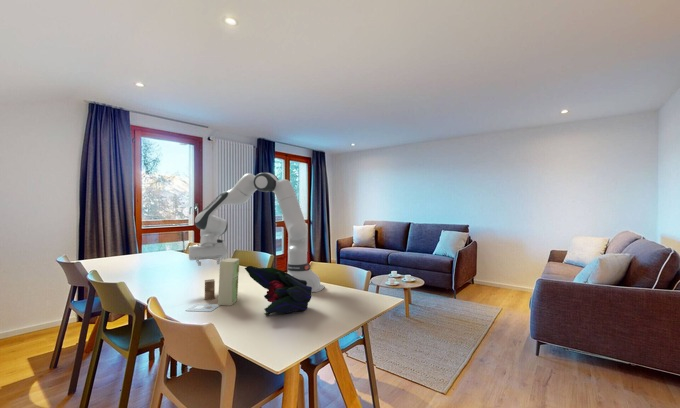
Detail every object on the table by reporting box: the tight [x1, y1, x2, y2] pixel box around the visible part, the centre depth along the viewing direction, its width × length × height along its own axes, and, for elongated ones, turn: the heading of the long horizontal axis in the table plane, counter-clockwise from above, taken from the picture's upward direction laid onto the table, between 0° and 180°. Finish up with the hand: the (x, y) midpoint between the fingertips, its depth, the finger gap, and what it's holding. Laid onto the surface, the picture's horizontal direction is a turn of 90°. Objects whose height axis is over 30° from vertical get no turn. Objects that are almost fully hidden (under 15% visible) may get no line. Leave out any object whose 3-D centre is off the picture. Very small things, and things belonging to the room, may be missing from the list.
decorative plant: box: [244, 265, 313, 316], centre depth 134 cm, size 21×26×30 cm
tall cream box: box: [217, 257, 240, 306], centre depth 145 cm, size 8×7×21 cm
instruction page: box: [185, 303, 221, 313], centre depth 138 cm, size 12×9×1 cm
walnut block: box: [204, 278, 216, 301], centre depth 152 cm, size 4×4×9 cm
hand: (209, 264), depth 163 cm, fingers open, 8 cm apart
